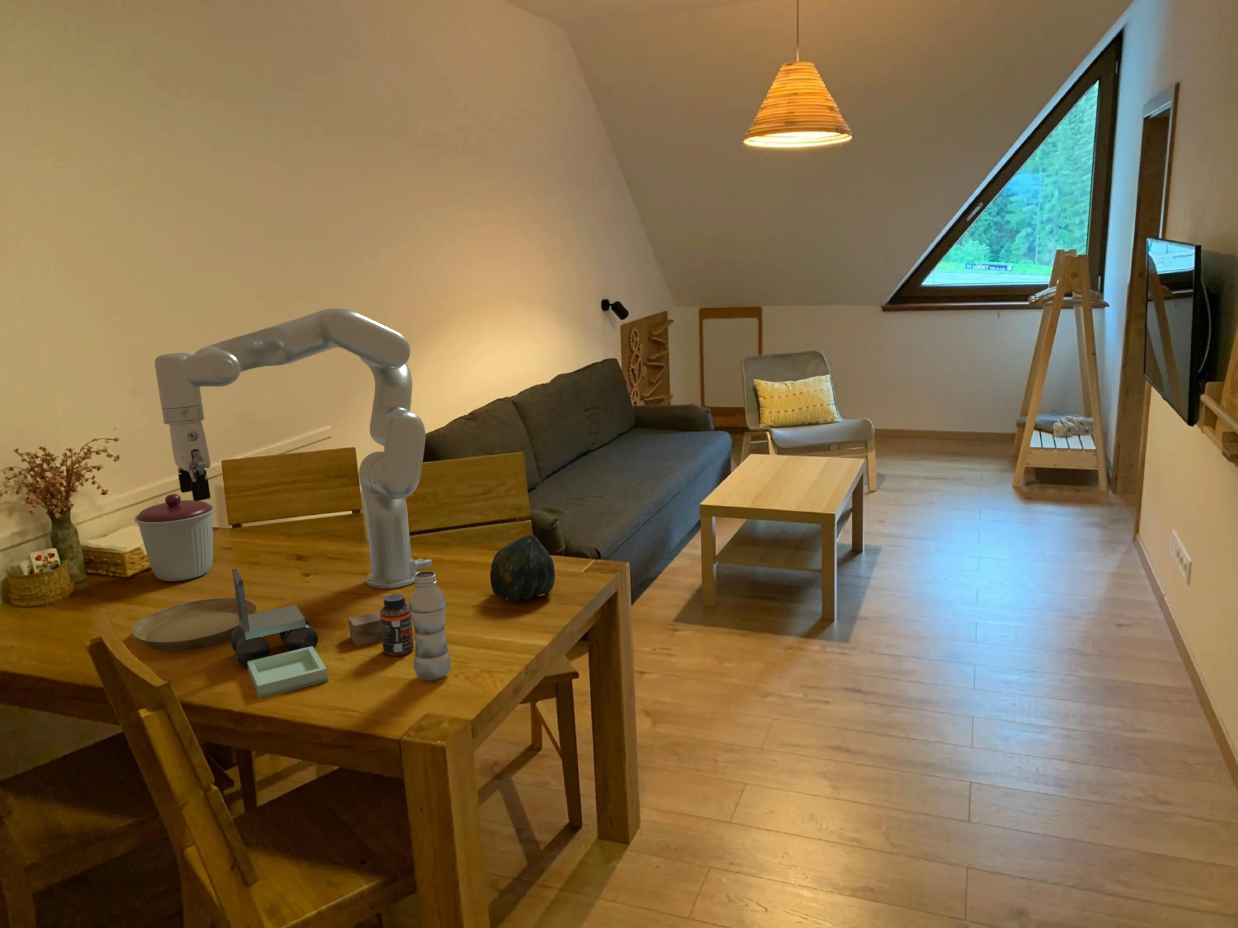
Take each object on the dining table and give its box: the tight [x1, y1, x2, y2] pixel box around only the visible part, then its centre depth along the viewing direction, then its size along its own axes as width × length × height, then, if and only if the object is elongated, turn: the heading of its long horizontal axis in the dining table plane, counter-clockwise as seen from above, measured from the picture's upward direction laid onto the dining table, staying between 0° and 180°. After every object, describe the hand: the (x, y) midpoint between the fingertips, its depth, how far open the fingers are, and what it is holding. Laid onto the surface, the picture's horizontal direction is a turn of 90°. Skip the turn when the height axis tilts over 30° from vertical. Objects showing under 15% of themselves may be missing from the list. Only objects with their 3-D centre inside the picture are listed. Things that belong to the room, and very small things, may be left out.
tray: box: [247, 646, 329, 700], centre depth 167 cm, size 12×12×2 cm
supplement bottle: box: [379, 593, 415, 657], centre depth 176 cm, size 6×6×11 cm
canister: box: [133, 493, 215, 582], centre depth 225 cm, size 18×18×21 cm
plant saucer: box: [132, 597, 258, 651], centre depth 191 cm, size 24×24×3 cm
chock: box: [348, 610, 382, 647], centre depth 184 cm, size 7×5×4 cm
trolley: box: [229, 568, 319, 669], centre depth 176 cm, size 15×9×18 cm, turn 120°
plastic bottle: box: [408, 570, 452, 681], centre depth 164 cm, size 6×7×20 cm
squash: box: [489, 534, 556, 602], centre depth 203 cm, size 14×15×15 cm
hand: (195, 495), depth 187 cm, fingers open, 9 cm apart
